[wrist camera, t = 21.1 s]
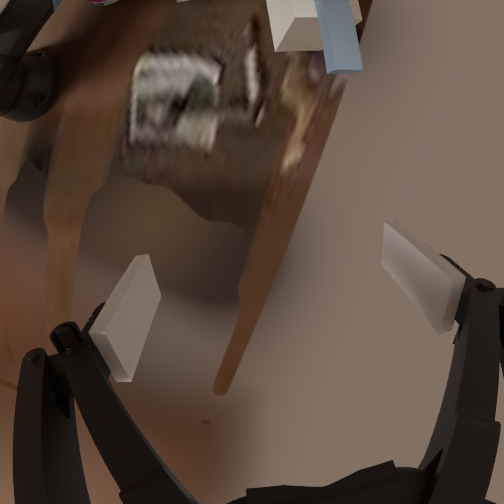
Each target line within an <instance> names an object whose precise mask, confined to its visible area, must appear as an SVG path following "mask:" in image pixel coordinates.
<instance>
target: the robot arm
mask: <svg viewBox="0 0 504 504" xmlns="http://www.w3.org/2000/svg"><path fill="white" fill-rule="evenodd" d="M61 1H62V0H0V116H2V117H4V118H7V119H9V120H11V121H14V122H28V121H32V120H34V119H36V118H38V117H39V116H40V115H41V114H42V113H43V112H44V111H45V110H46V109H47V108H48V106H49V105H50V103H51V101H52V99H53V97H54V95H55V92H56V89H57V85H58V79H59V71H58V65H57V62H56V60H55V58H54V57H53V56H52V55H51V54H50V53H48V52H45V51H41V50H31V51H27V49H28V48H29V46H30V45H31V43H32V42H33V40H34V39H35V37H36V36H37V34H38V33H39V31H40V30H41V29H42V27H43V26H44V24H45V23H46V22H47V20H48V19H49V18H50V16H51V15H52V14H53V13H54V12H55V10H56V8H57V6H58V5H59V3H60V2H61ZM26 51H27V52H26ZM382 266H383V267H384V268H385V269H386V270H387V272H388V273H389V274H390V275H391V276H392V277H393V279H394V280H395V281H396V282H397V283H398V285H399V286H400V287H401V288H402V289H403V291H404V292H405V293H406V294H407V296H408V297H409V298H410V299H411V300H412V302H413V303H414V304H415V305H416V307H417V308H418V309H419V310H420V312H421V313H422V314H423V316H424V317H425V318H426V319H427V321H428V322H429V323H430V325H431V326H432V327H433V328H434V330H435V331H436V332H437V334H438V335H440V334H442V333H446V332H449V331H451V330H452V327H453V324H454V320H456V321H457V322H458V324H459V327H458V330H457V333H456V336H455V339H454V341H453V344H455V347H454V353H453V358H452V363H451V368H450V372H449V377H448V382H447V386H446V390H445V394H444V397H443V401H442V405H441V408H440V412H439V415H438V419H437V422H436V425H435V428H434V431H433V434H432V437H431V440H430V443H429V445H428V448H427V451H426V453H425V456H424V458H423V460H422V461H421V463H420V465H419V467H418V469H417V468H411V467H395V465H394V462H393V460H391V461H388V462H385V463H382V464H378V465H375V466H372V467H369V468H365V469H361V470H359V471H357V472H355V473H353V474H351V475H349V476H347V477H345V478H343V479H340V480H339V481H336V482H334V483H332V484H330V485H327V486H324V487H306V486H288V485H281V486H271V487H261V488H249V489H246V496H245V497H241V498H238V499H236V500H233V501H231V502H229V503H227V504H496V503H494V502H491V501H489V500H486V499H485V497H486V493H487V490H488V486H489V483H490V479H491V475H492V471H493V467H494V463H495V458H496V453H497V448H498V443H499V437H500V429H501V425H500V422H497V421H495V413H496V404H497V395H498V383H499V363H501V367H502V372H503V376H504V288H496V286H495V285H494V284H493V283H492V282H491V281H489V280H486V279H483V278H477V279H474V278H473V277H471V276H470V275H469V274H468V273H467V272H466V271H465V270H463V269H462V268H460V266H459V265H457V264H455V262H454V261H453V260H452V259H450V258H449V257H447V256H445V255H442V254H438V253H437V252H436V251H435V250H434V249H432V248H431V247H430V246H429V245H427V244H426V243H425V242H424V241H422V240H421V239H420V238H419V237H417V236H416V235H414V234H413V233H412V232H411V231H410V230H408V229H407V228H406V227H404V226H403V225H402V224H400V223H399V222H398V221H396V220H392V221H384V237H383V254H382ZM160 299H161V294H160V291H159V288H158V285H157V281H156V278H155V275H154V272H153V268H152V265H151V262H150V258H149V255H148V254H146V255H139V256H136V257H135V258H134V259H133V261H132V262H131V264H130V265H129V267H128V268H127V270H126V272H125V273H124V275H123V276H122V278H121V279H120V281H119V283H118V284H117V286H116V287H115V289H114V290H113V292H112V294H111V295H110V297H109V299H108V300H107V302H104V303H101V304H100V305H99V306H98V307H97V308H96V309H95V310H94V312H93V313H92V315H91V317H90V318H89V320H88V322H87V324H86V325H85V327H84V328H83V330H82V332H81V331H80V330H79V328H78V326H77V324H76V323H75V322H71V321H70V322H65V323H62V324H60V325H59V326H57V327H56V328H55V329H54V330H53V331H52V332H51V334H50V339H51V341H52V343H53V344H54V346H55V348H56V349H57V351H58V354H54V355H51V356H48V355H47V354H46V352H45V351H44V349H42V348H36V349H33V350H31V351H29V352H28V353H27V354H26V355H25V356H24V358H23V361H22V364H21V370H20V377H19V383H18V390H17V398H16V407H15V417H14V418H15V419H14V433H13V484H14V497H15V504H91V503H90V499H89V494H88V490H87V486H86V481H85V476H84V471H83V467H82V461H81V456H80V449H79V443H78V435H77V426H76V417H75V406H74V398H75V400H76V403H77V405H78V407H79V410H80V412H81V414H82V417H83V419H84V421H85V424H86V426H87V428H88V430H89V432H90V434H91V436H92V439H93V440H94V443H95V445H96V447H97V449H98V451H99V452H100V455H101V456H102V458H103V460H104V462H105V464H106V466H107V467H108V469H109V471H110V473H111V474H112V476H113V478H114V480H115V481H116V483H117V485H118V486H119V488H120V491H121V492H120V493H119V496H120V499H121V501H122V502H123V504H200V503H199V502H198V501H197V500H196V499H195V498H194V497H193V495H192V494H190V492H189V491H188V490H187V489H186V488H185V487H184V486H183V484H182V483H181V482H180V481H179V480H178V479H177V477H176V476H175V475H174V474H173V473H172V471H171V470H170V469H169V468H168V467H167V465H166V464H165V463H164V461H163V460H162V459H161V458H160V456H159V455H158V454H157V453H156V451H155V450H154V448H153V447H152V446H151V444H150V443H149V442H148V440H147V439H146V438H145V436H144V435H143V433H142V432H141V431H140V429H139V428H138V426H137V425H136V424H135V422H134V420H133V419H132V417H131V416H130V414H129V413H128V411H127V409H126V408H125V406H124V405H123V404H122V402H121V400H120V398H119V397H118V395H117V393H116V392H115V390H114V388H113V387H112V385H111V383H110V382H109V380H108V377H109V375H110V372H111V374H112V375H113V377H114V379H115V380H116V381H118V382H122V381H123V382H131V381H132V379H133V375H134V373H135V369H136V366H137V363H138V360H139V357H140V354H141V351H142V348H143V346H144V343H145V340H146V337H147V334H148V331H149V329H150V326H151V323H152V320H153V317H154V315H155V312H156V309H157V306H158V304H159V301H160Z"/></svg>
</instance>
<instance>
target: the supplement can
mask: <svg viewBox="0 0 504 504" xmlns="http://www.w3.org/2000/svg"><path fill="white" fill-rule="evenodd" d="M90 1H91V2H93V3H94V4H96V5H99V6H107V5H110V4H113V3H115V2H117V1H118V0H90Z"/></svg>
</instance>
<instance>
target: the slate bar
mask: <svg viewBox="0 0 504 504" xmlns="http://www.w3.org/2000/svg"><path fill="white" fill-rule="evenodd" d="M314 3H315V8H316V13H317V18H318V23H319V28H320V33H321V38H322V44H323V50H324V56H325V62H326V68H327V73H347V74H352V73H356V72H359V71H361V70H363V68H362V61H361V55H360V49H359V43H358V38H357V33H356V28H355V23H354V18H353V14H352V9H351V5H350V1H349V0H314Z"/></svg>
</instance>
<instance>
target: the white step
mask: <svg viewBox="0 0 504 504" xmlns="http://www.w3.org/2000/svg"><path fill="white" fill-rule="evenodd" d="M349 1H350V5H351V9H352V14H353V18H354V23H355V25H356V24H358V23H359V22H361V21H362V16H361V12H360V7H359V3H358V0H349ZM266 2H267V8H268V13H269V19H270V25H271V30H272V36H273V43H274V49H275V52H285V51H321V50H323V44H322V38H321V33H320V28H319V23H318V18H317V13H316V8H315V3H314V0H266Z"/></svg>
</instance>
